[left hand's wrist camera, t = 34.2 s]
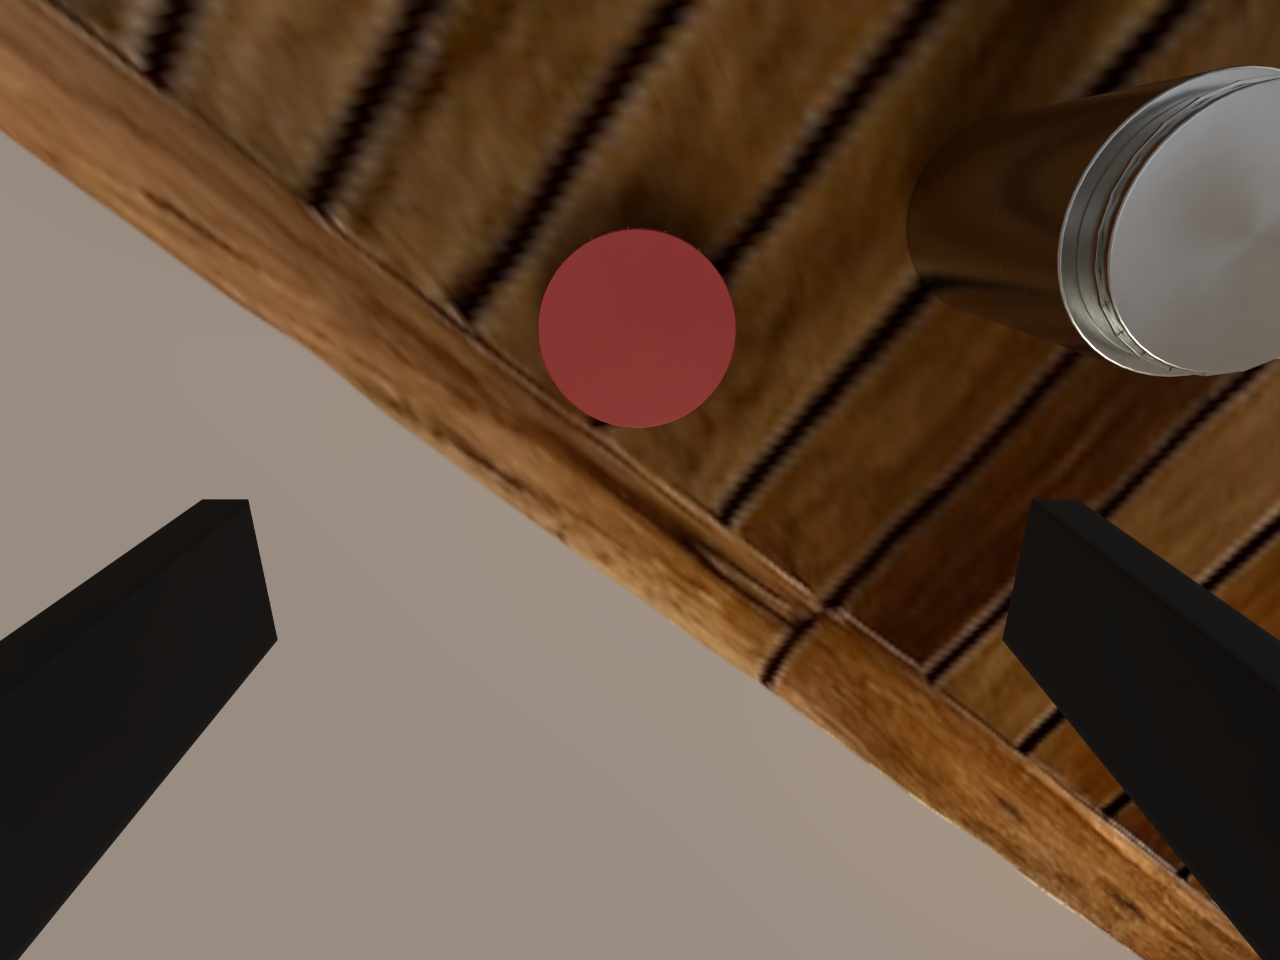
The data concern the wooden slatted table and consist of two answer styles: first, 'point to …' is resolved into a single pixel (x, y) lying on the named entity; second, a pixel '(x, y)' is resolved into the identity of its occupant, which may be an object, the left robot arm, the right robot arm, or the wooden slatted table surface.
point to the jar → (1118, 223)
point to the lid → (637, 327)
